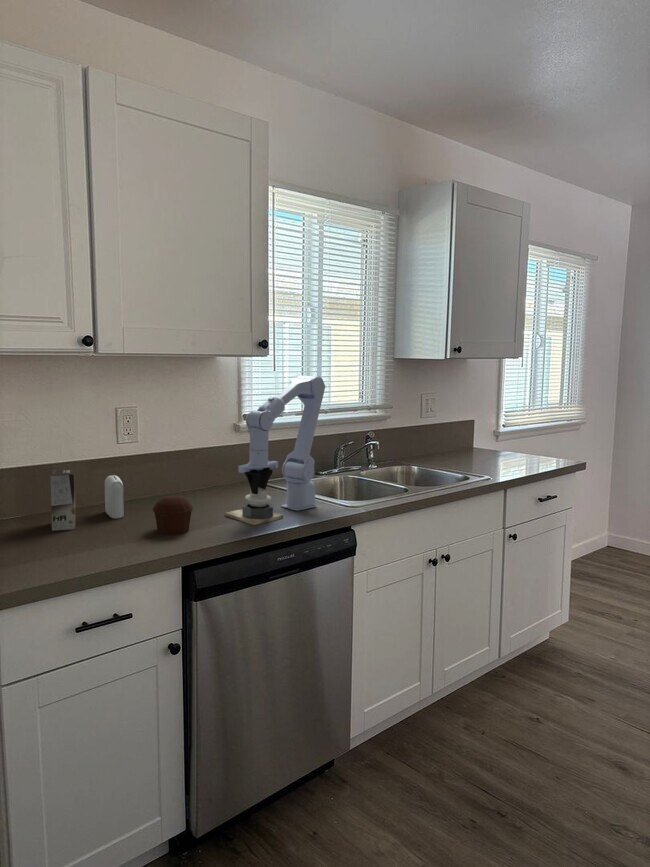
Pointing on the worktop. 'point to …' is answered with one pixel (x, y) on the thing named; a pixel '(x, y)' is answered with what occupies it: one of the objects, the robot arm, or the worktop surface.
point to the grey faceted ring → (257, 511)
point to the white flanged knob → (258, 498)
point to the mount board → (239, 516)
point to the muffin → (172, 515)
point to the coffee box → (63, 499)
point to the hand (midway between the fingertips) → (258, 493)
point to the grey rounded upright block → (114, 497)
